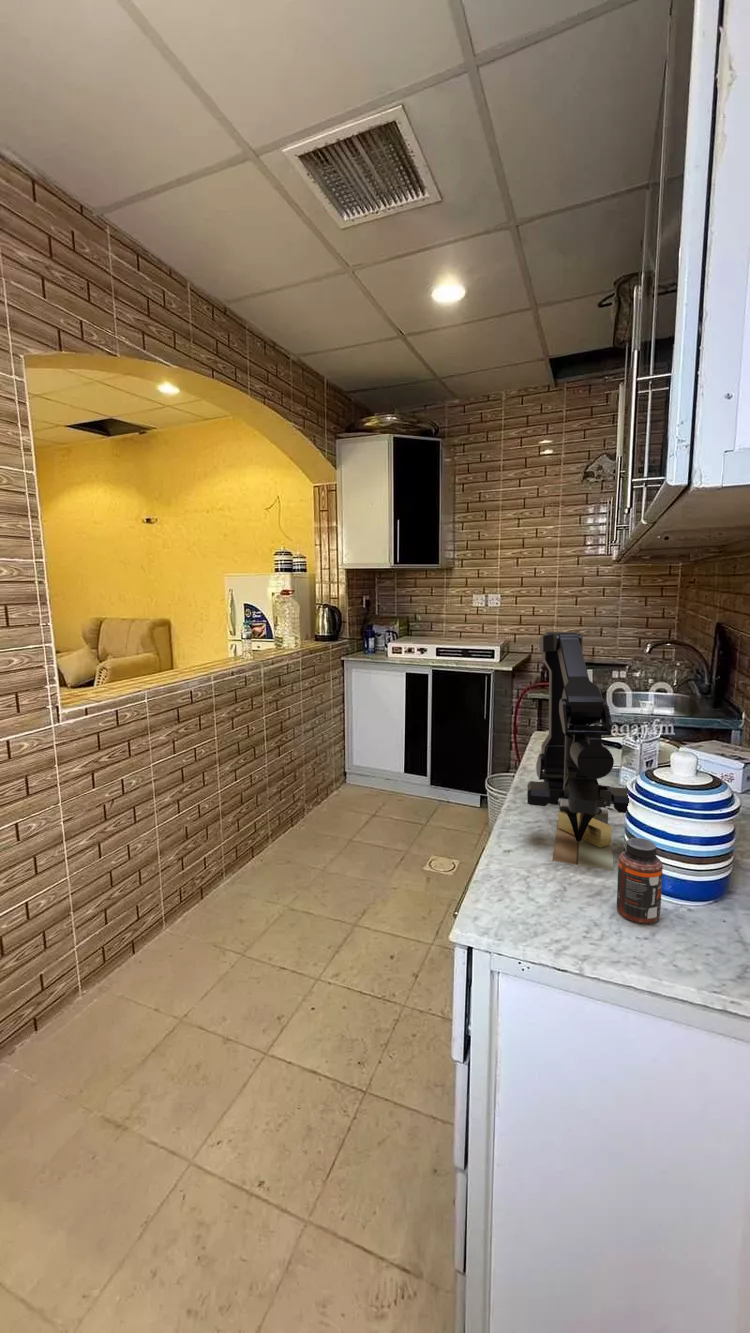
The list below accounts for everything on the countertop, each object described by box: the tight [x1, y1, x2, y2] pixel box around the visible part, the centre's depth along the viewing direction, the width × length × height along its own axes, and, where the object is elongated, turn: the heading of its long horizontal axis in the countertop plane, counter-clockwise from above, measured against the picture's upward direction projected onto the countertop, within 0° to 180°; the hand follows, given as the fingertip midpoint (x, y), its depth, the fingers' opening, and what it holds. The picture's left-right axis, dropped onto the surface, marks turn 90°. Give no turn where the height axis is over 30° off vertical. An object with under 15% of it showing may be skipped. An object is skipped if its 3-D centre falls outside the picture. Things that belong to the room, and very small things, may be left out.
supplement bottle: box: [616, 837, 664, 924], centre depth 79 cm, size 6×6×11 cm
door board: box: [552, 821, 614, 871], centre depth 100 cm, size 18×10×1 cm, turn 158°
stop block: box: [593, 809, 609, 825], centre depth 106 cm, size 2×3×4 cm, turn 68°
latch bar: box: [557, 810, 613, 848], centre depth 102 cm, size 10×3×4 cm, turn 29°
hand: (578, 840), depth 99 cm, fingers closed
